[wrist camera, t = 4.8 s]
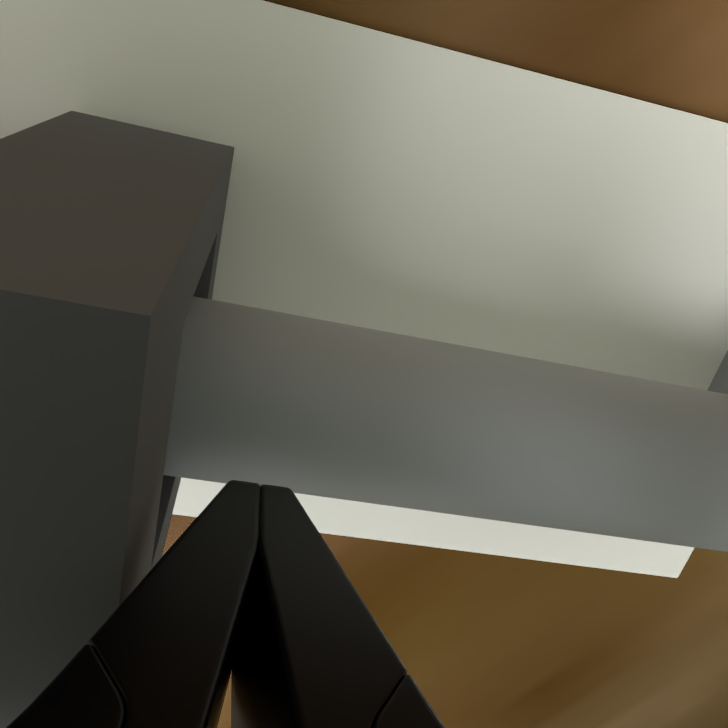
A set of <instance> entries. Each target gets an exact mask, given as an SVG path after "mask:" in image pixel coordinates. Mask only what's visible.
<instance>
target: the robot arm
mask: <svg viewBox="0 0 728 728" xmlns="http://www.w3.org/2000/svg"><path fill="white" fill-rule="evenodd" d="M231 670H232V695H231V728H445V727H444V725H443V724H442V722H441V721H440V719H439V718H438V716H437V715H436V714H435V712H434V711H433V709H432V708H431V706H430V705H429V703H428V702H427V700H426V699H425V697H424V696H423V694H422V693H421V691H420V689H419V688H418V686H417V685H416V683H415V682H414V680H413V678H412V677H411V676H410V675H408V674H407V675H406V673H407V670H406V668H405V666H404V665H403V663H402V662H401V660H400V659H399V657H398V655H397V654H396V652H395V651H394V649H393V648H392V646H391V644H390V643H389V641H388V640H387V638H386V637H385V635H384V633H383V632H382V630H381V629H380V627H379V626H378V624H377V623H376V621H375V619H374V618H373V616H372V615H371V613H370V612H369V610H368V608H367V607H366V605H365V604H364V602H363V601H362V599H361V597H360V596H359V594H358V593H357V591H356V590H355V588H354V587H353V585H352V583H351V582H350V580H349V579H348V577H347V576H346V574H345V572H344V571H343V569H342V568H341V566H340V565H339V563H338V561H337V560H336V558H335V557H334V555H333V554H332V552H331V551H330V549H329V547H328V546H327V544H326V543H325V541H324V540H323V538H322V536H321V535H320V533H319V532H318V530H317V529H316V527H315V525H314V524H313V522H312V521H311V519H310V518H309V516H308V515H307V513H306V511H305V510H304V508H303V507H302V505H301V504H300V502H299V500H298V499H297V497H296V496H295V494H294V493H293V491H292V490H291V489H290V488H288V487H281V486H274V485H267V484H262V485H259V484H258V483H253V482H246V481H239V480H231V481H229V482H228V483H227V484H226V485H225V486H224V487H223V488H222V489H221V490H220V492H219V493H218V494H217V495H216V496H215V497H214V498H213V500H212V501H211V502H210V503H209V504H208V505H207V506H206V508H205V509H204V510H203V511H202V512H201V513H200V514H199V516H198V517H197V518H196V519H195V520H194V521H193V522H192V523H191V525H190V526H189V527H188V528H187V529H186V530H185V531H184V533H183V534H182V535H181V536H180V537H179V538H178V539H177V541H176V542H175V543H174V544H173V545H172V546H171V547H170V549H169V550H168V551H167V552H166V553H165V554H164V555H163V557H162V558H161V559H160V560H159V561H158V562H157V563H156V565H155V566H154V567H153V568H152V569H151V570H150V571H149V572H148V574H147V575H146V576H145V577H144V578H143V579H142V580H141V582H140V583H139V584H138V585H137V586H136V587H135V588H134V590H133V591H132V592H131V593H130V594H129V595H128V596H127V598H126V599H125V600H124V601H123V602H122V603H121V604H120V606H119V607H118V608H117V609H116V610H115V611H114V612H113V613H112V615H111V616H110V617H109V618H108V619H107V620H106V621H105V623H104V624H103V625H102V626H101V627H100V628H99V629H98V631H97V632H96V633H95V634H94V635H93V636H92V637H91V639H90V640H89V642H88V644H87V645H84V646H83V647H82V648H81V649H80V651H79V652H78V653H77V654H76V655H75V656H74V657H73V659H72V660H71V661H70V662H69V663H68V664H67V665H66V667H65V668H64V669H63V670H62V671H61V672H60V673H59V674H58V675H57V676H56V677H55V679H54V680H53V681H52V682H51V683H50V684H49V685H48V686H47V687H46V688H45V689H44V690H43V691H42V692H41V693H40V695H39V696H38V697H37V698H36V699H35V700H34V701H33V702H32V703H31V704H30V705H29V706H28V707H27V708H26V709H25V710H24V711H23V712H22V713H21V714H20V715H19V716H18V717H17V718H16V719H15V720H14V721H13V722H11V723H10V724H9V725H8V726H7V727H6V728H217V725H218V721H219V718H220V714H221V710H222V706H223V702H224V698H225V694H226V690H227V686H228V682H229V679H230V674H231Z"/></svg>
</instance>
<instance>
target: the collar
mask: <svg viewBox="0 0 728 728" xmlns="http://www.w3.org/2000/svg"><path fill="white" fill-rule="evenodd" d="M234 148H235V147H232V146H227V145H223V144H219V143H214V142H210V141H205V140H201V139H196V138H192V137H187V136H183V135H178V134H174V133H170V132H165V131H161V130H156V129H152V128H147V127H143V126H138V125H134V124H129V123H125V122H120V121H116V120H112V119H107V118H103V117H98V116H94V115H89V114H85V113H80V112H76V111H69V112H67V113H64V114H62V115H59V116H57V117H54V118H52V119H49V120H47V121H44V122H42V123H39V124H36V125H34V126H31V127H29V128H26V129H24V130H21V131H19V132H16V133H14V134H11V135H9V136H6V137H4V138H1V139H0V728H6V727H7V726H8V725H9V724H10V723H11V722H13V721H14V720H15V719H16V718H17V717H18V716H19V715H20V714H21V713H22V712H23V711H24V710H25V709H26V708H27V707H28V706H29V705H30V704H31V703H32V702H33V701H34V700H35V699H36V698H37V697H38V696H39V695H40V693H41V692H42V691H43V690H44V689H45V688H46V687H47V686H48V685H49V684H50V683H51V682H52V681H53V680H54V679H55V677H56V676H57V675H58V674H59V673H60V672H61V671H62V670H63V669H64V668H65V667H66V665H67V664H68V663H69V662H70V661H71V660H72V659H73V657H74V656H75V655H76V654H77V653H78V652H79V651H80V649H81V648H82V647H83V646H84V645H87V644H88V642H89V640H90V639H91V637H92V636H93V635H94V634H95V633H96V632H97V631H98V629H99V628H100V627H101V626H102V625H103V624H104V623H105V621H106V620H107V619H108V618H109V617H110V616H111V615H112V613H113V612H114V611H115V610H116V609H117V608H118V607H119V606H120V604H121V603H122V602H123V601H124V600H125V599H126V598H127V596H128V595H129V594H130V593H131V592H132V591H133V590H134V588H135V587H136V586H137V585H138V584H139V583H140V582H141V580H142V579H143V578H144V577H145V576H146V575H147V574H148V572H149V571H150V570H151V569H152V568H153V567H154V566H155V565H156V563H157V562H158V561H159V560H160V559H161V556H162V552H163V548H164V544H165V540H166V537H167V533H168V529H169V525H170V521H171V517H172V513H173V509H174V505H175V501H176V497H177V493H178V489H179V485H180V481H181V477H174V476H167V475H163V474H164V466H165V459H166V451H167V444H168V436H169V429H170V421H171V414H172V406H173V399H174V391H175V384H176V376H177V369H178V361H179V354H180V346H181V338H182V331H183V323H184V320H185V317H186V314H187V312H188V309H189V306H190V304H191V301H192V298H193V296H194V297H200V298H205V299H211V300H212V295H213V288H214V281H215V275H216V268H217V261H218V255H219V248H220V241H221V235H222V228H223V221H224V215H225V208H226V201H227V194H228V188H229V181H230V174H231V168H232V161H233V154H234Z"/></svg>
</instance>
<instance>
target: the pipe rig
mask: <svg viewBox="0 0 728 728" xmlns="http://www.w3.org/2000/svg"><path fill="white" fill-rule="evenodd" d="M69 111H76V112H80V113H85V114H89V115H94V116H98V117H103V118H107V119H112V120H116V121H120V122H125V123H129V124H134V125H138V126H143V127H147V128H152V129H156V130H161V131H165V132H170V133H174V134H178V135H183V136H187V137H192V138H196V139H201V140H205V141H210V142H214V143H219V144H223V145H227V146H232V147H235V148H234V154H233V161H232V168H231V174H230V181H229V188H228V194H227V201H226V208H225V215H224V221H223V228H222V235H221V241H220V248H219V255H218V261H217V268H216V275H215V281H214V288H213V295H212V300H211V299H205V298H200V297H194V296H193V298H192V301H191V304H190V306H189V309H188V312H187V314H186V317H185V320H184V323H183V331H182V338H181V346H180V354H179V361H178V369H177V376H176V384H175V391H174V399H173V406H172V414H171V421H170V429H169V436H168V444H167V451H166V459H165V466H164V474H163V475H167V476H174V477H181V481H180V485H179V489H178V493H177V497H176V501H175V505H174V509H173V513H172V514H176V515H184V516H192V517H198V516H199V514H200V513H201V512H202V511H203V510H204V509H205V508H206V506H207V505H208V504H209V503H210V502H211V501H212V500H213V498H214V497H215V496H216V495H217V494H218V493H219V492H220V490H221V489H222V488H223V487H224V486H225V485H226V484H227V483H228V482H229V481H231V480H239V481H246V482H253V483H258V484H259V485H262V484H267V485H274V486H281V487H288V488H290V489H291V490H292V491H293V493H294V494H295V496H296V497H297V499H298V500H299V502H300V504H301V505H302V507H303V508H304V510H305V511H306V513H307V515H308V516H309V518H310V519H311V521H312V522H313V524H314V525H315V527H316V529H317V530H318V532H319V533H326V534H334V535H342V536H349V537H357V538H365V539H373V540H381V541H389V542H397V543H405V544H413V545H420V546H428V547H436V548H444V549H452V550H460V551H468V552H476V553H483V554H491V555H499V556H507V557H515V558H523V559H531V560H539V561H547V562H554V563H562V564H570V565H578V566H586V567H594V568H602V569H610V570H617V571H625V572H633V573H641V574H649V575H657V576H665V577H673V578H678V576H679V575H680V573H681V571H682V569H683V567H684V566H685V564H686V562H687V560H688V559H689V557H690V555H691V553H692V551H693V550H694V548H702V549H709V550H716V551H724V552H728V123H725V122H721V121H717V120H714V119H710V118H706V117H702V116H698V115H695V114H691V113H687V112H683V111H679V110H676V109H672V108H668V107H664V106H661V105H657V104H653V103H649V102H645V101H642V100H638V99H634V98H630V97H627V96H623V95H619V94H615V93H611V92H608V91H604V90H600V89H596V88H592V87H589V86H585V85H581V84H577V83H574V82H570V81H566V80H562V79H558V78H555V77H551V76H547V75H543V74H540V73H536V72H532V71H528V70H524V69H521V68H517V67H513V66H509V65H505V64H502V63H498V62H494V61H490V60H487V59H483V58H479V57H475V56H471V55H468V54H464V53H460V52H456V51H453V50H449V49H445V48H441V47H437V46H434V45H430V44H426V43H422V42H418V41H415V40H411V39H407V38H403V37H400V36H396V35H392V34H388V33H384V32H381V31H377V30H373V29H369V28H366V27H362V26H358V25H354V24H350V23H347V22H343V21H339V20H335V19H331V18H328V17H324V16H320V15H316V14H313V13H309V12H305V11H301V10H297V9H294V8H290V7H286V6H282V5H279V4H275V3H271V2H267V1H263V0H0V139H1V138H4V137H6V136H9V135H11V134H14V133H16V132H19V131H21V130H24V129H26V128H29V127H31V126H34V125H36V124H39V123H42V122H44V121H47V120H49V119H52V118H54V117H57V116H59V115H62V114H64V113H67V112H69Z"/></svg>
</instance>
